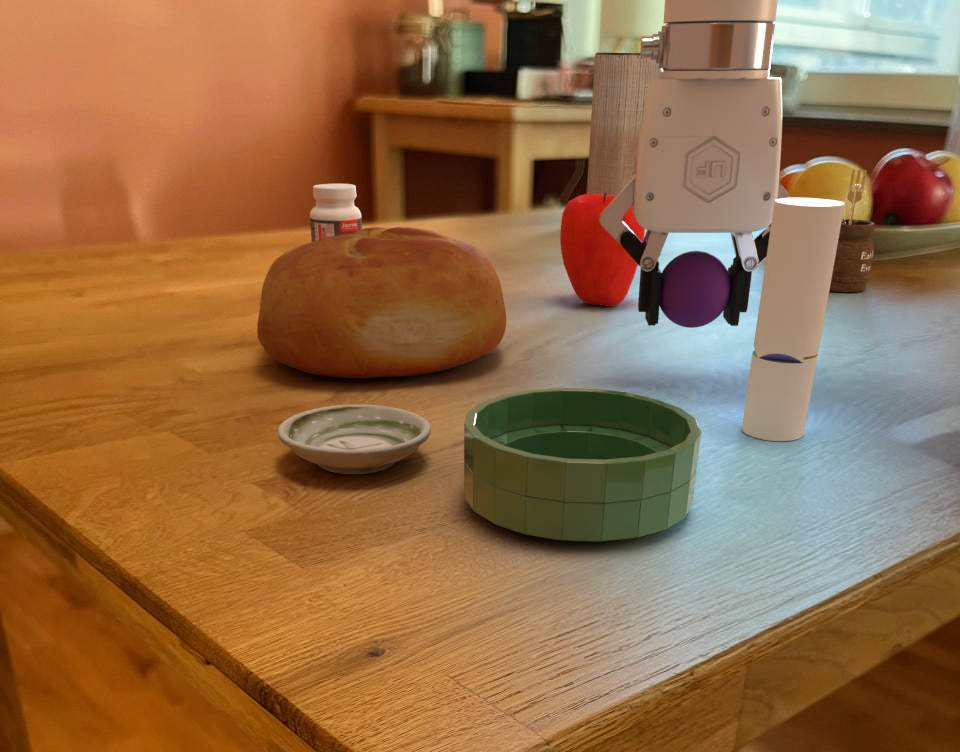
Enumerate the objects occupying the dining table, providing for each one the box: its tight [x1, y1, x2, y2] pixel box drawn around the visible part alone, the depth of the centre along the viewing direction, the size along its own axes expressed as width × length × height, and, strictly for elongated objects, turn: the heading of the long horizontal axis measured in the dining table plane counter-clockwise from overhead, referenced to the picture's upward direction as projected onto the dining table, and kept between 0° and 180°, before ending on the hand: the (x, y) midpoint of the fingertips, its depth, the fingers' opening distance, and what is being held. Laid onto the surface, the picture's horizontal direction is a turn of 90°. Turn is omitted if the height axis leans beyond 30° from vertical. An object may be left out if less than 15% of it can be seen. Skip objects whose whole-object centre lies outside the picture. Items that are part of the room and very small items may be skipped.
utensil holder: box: [829, 169, 875, 293], centre depth 113 cm, size 6×6×12 cm
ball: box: [659, 250, 731, 329], centre depth 78 cm, size 6×6×6 cm
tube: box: [741, 197, 846, 442], centre depth 68 cm, size 4×4×15 cm
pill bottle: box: [309, 183, 363, 242], centre depth 114 cm, size 6×6×10 cm
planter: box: [586, 52, 662, 196], centre depth 151 cm, size 10×10×23 cm
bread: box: [256, 226, 507, 379], centre depth 86 cm, size 23×23×10 cm
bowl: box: [463, 387, 702, 543], centre depth 59 cm, size 13×13×5 cm
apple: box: [559, 193, 646, 307], centre depth 105 cm, size 9×9×11 cm
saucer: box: [277, 403, 432, 475], centre depth 65 cm, size 10×10×2 cm
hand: (691, 319), depth 79 cm, fingers closed on ball, 5 cm apart
